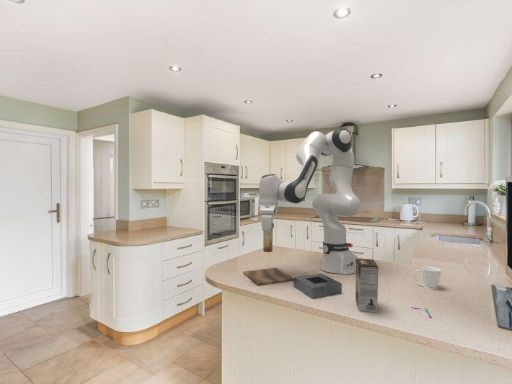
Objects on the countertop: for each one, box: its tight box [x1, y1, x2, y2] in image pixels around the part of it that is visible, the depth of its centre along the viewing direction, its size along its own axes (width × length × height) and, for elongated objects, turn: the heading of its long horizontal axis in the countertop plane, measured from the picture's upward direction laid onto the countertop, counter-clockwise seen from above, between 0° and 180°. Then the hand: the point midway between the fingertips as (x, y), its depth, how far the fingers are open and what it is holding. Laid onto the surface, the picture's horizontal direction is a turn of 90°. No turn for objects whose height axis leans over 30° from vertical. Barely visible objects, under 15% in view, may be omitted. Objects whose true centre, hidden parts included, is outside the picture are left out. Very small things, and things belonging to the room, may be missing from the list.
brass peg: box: [262, 222, 275, 253], centre depth 131 cm, size 6×6×13 cm
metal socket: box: [293, 272, 343, 299], centre depth 116 cm, size 14×14×4 cm
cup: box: [413, 266, 442, 290], centre depth 120 cm, size 7×10×8 cm
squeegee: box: [411, 307, 433, 319], centre depth 99 cm, size 15×1×5 cm
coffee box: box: [354, 258, 379, 313], centre depth 100 cm, size 9×6×16 cm
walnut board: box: [243, 267, 294, 287], centre depth 131 cm, size 18×18×1 cm
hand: (268, 238), depth 131 cm, fingers closed on brass peg, 5 cm apart
